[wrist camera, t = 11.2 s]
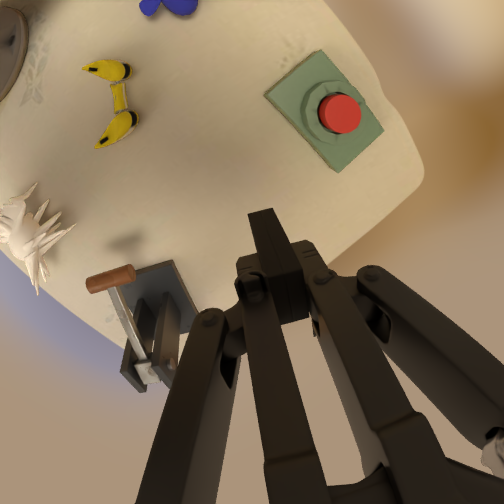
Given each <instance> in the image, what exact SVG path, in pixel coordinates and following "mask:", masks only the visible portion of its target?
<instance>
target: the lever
mask: <svg viewBox="0 0 504 504" xmlns="http://www.w3.org/2000/svg"><path fill="white" fill-rule="evenodd" d="M135 280H136V272H135V269H134V267H133V266H132V265H131V264H128V265H125V266H122V267H119V268H116V269H112V270H109V271H106V272H103V273H100V274H97V275H94V276H91V277H88V278H87V279H86V287H87V290H88V291H89V292H90V293H91V294H93V293H97V292H100V291H104V290H108V292H109V295H110V297H111V300H112V302H113V305H114V307H115V309H116V312H117V314H118V316H119V319H120V321H121V323H122V325H123V328H124V330H125V332H126V334H127V336H128V338H129V340H130V343H131V345H132V347H133V349H134V351H135V353H136V355H137V357H138V359H137V360H136V362H135V364H134V367H135V369H136V370H137V372H138V374H139V376H140V378H141V380H142V381H143V383H144V385H145V384H152V383H159V382H161V379H160V378H159V377H158V375H157V374H156V373H155V372H154V371H153V369H152V368H151V362H152V354H153V352H151V353H148V350H147V348H146V346H145V344H144V342H143V340H142V338H141V336H140V333H139V331H138V329H137V327H136V325H135V322H134V320H133V318H132V315H131V313H130V311H129V308H128V306H127V304H126V301H125V299H124V296H123V294H122V291H121V289H120V285H124V284H127V283H131V282H134V281H135Z"/></svg>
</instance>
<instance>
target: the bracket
mask: <svg viewBox="0 0 504 504" xmlns="http://www.w3.org/2000/svg"><path fill="white" fill-rule="evenodd" d="M135 272H136V280H135V281H134V282H131V283H127V284H124V285H120V289H121V291H122V294H123V296H124V299H125V301H126V304H127V306H128V308H129V309H130V311H131V312H132V314H133V320H134V322H135V325H136V327H137V329H138V331H139V333H140V336H141V338H142V340H143V342H144V344H145V346H146V348H147V350H148V353H151V352H152V346H153V340H155V341H154V348H153V354H152V362H151V368H152V369H153V371H154V372H155V373H156V374H157V375H158V377H159V378H160V379H161V380H162V381H163V382H164V384H165V385H166V386H167V387H168V388H169V389H170V388H171V385H172V382H173V379H174V376H175V373H176V370H177V367H178V352H179V337H180V334H184V333H188V332H190V329H191V326H192V323H193V321H194V319H195V317H196V315H198V314H199V313H198V311H197V309H196V307H195V305H194V304H193V302H192V300H191V298H190V296H189V293H188V291H187V289H186V287H185V285H184V283H183V281H182V279H181V277H180V275H179V273H178V271H177V269H176V267H175V264H174V262H173V260H170V261H166V262H163V263H160V264H157V265H153V266H150V267H147V268H143V269H140V270H137V271H135ZM137 359H138V357H137V355H136V353H135V351H134V349H133V347H132V345H131V343H130V340H129V338H127V342H126V346H125V351H124V355H123V360H122V364H121V369H120V373H121V374H122V375H123V376H124V377H125V378H126V379H127V380H128V381H129V383H130V384H131V385H132V386H133V387H134V388H135V389H136V390H137V391H138V392H139V393H143V392H146V390H147V384H145V385H144V383H143V381H142V380H141V378H140V376H139V374H138V372H137V370H136V369H135V367H134V364H135V362H136V360H137Z"/></svg>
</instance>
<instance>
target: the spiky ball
mask: <svg viewBox="0 0 504 504" xmlns="http://www.w3.org/2000/svg"><path fill="white" fill-rule="evenodd" d="M37 183H38V182H36V183H35V184H34V185H33V186H32V187H31V188H30V189H29V190H28V191H27V192H26V193H25V194H23V195H21V196H17V197H12V198H10V199H9V201H10V202H11V203H12V204H3V206H4V208H0V213H1V214H3V216H0V236H3V237H0V243H9V247H10V250H11V252H12V253H13V255H14V256H15V257H16V258H18V259H20V260H22V261H25V263H26V266H27V269H28V272H29V275H30V278H31V282H32V284H33V286H34V285H35V286H36V292H37V296H38V295H39V280H38V272H39V265H40V269H41V272H42V275H43V278H44V281H45V283H46V275H45V272H46V273H47V275H48V276H49V277H50V273H49V271H48V268H47V266H46V263H45V261H44V258H43V255H44V253H45V252H46V251H47V250H48V249H49V248H50V247H51V246H52V245H54V244H55V243H56V242H57V241H58V240H59V239H60V238H61V237H63V236H64V235H65V234H66V233H67V232H68V231H70V230H71V229H72V228H73V227H74V226H75V225H76V224H77V223H76V224H74V225H72V226H71V227H69V228H68V229H66V230H65V231H64V229H63V230H60V231H57V232H55V233H53V232H54V231H55V230H56V229H57V228H58V227H59V225H60V224H61V223H58V224H56V225H55V226H53V227H52V228H50V227H51V226H52V225H53V223H54V222H55V221H56V220H57V218H58V217H59V216H60V215H61V213H62V212H59V213H57V214H56V215H55V216H53V217H52V218H50V219H49V220H48V221H47V222H45V223H44V224H43V225H41V226H40V225H39V224H38V223H39V221H40V218H41V216H42V214H43V212H44V210H45V208H46V207H47V204H48V202H49V199H48V200H47V201H46V202H45V203H44V204H43V206H41V207H39V210H38V212H37V214H36V215H35V217H34V218H33V213H30V212H29V213H28V214H26V215H25V216H24V214H25V210H26V204H25V202H24V200H25V199H26V198H28V197H29V196H30V194H31V193H32V191H33V190H34V188H35V187H36V185H37ZM49 228H50V229H49ZM48 229H49V230H48ZM47 230H48V231H47ZM63 231H64V232H63ZM56 236H57V237H56ZM53 238H54V239H53ZM52 239H53V240H52ZM50 240H51V241H50Z"/></svg>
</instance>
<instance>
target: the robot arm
mask: <svg viewBox="0 0 504 504" xmlns="http://www.w3.org/2000/svg"><path fill="white" fill-rule="evenodd" d="M27 44H28V25H27V21H26V19H25V17H24V15H23V14H22V13H21V12H20V11H18V10H17V9H13V8H10V7H0V101H1V100H2V99H3V98H4V97H5V96H6V94H7V93H8V92H9V90H10V89H11V87H12V85H13V84H14V82H15V80H16V78H17V76H18V74H19V72H20V69H21V67H22V64H23V61H24V58H25V54H26V50H27ZM248 218H249V222H250V226H251V230H252V234H253V238H254V242H255V246H256V250H257V253H255V254H251V255H247V256H243V257H239V259H238V261H237V263H236V268H237V275H238V277H237V278H236V280H235V283H234V285H235V288H236V291H237V294H238V298H239V301H238V302H237V304H235V305H234V306H233V307H232V308H230V309H228V310H226V311H224V312H223V311H222V310H220V309H218V308H209V309H205V310H203V311H201V312H200V313H199V314H198V315H196V317H195V319H194V321H193V323H192V326H191V329H190V332H189V335H188V338H187V341H186V343H185V346H184V349H183V352H182V355H181V358H180V361H179V364H178V367H177V370H176V373H175V376H174V379H173V382H172V385H171V388H170V391H169V394H168V397H167V400H166V403H165V406H164V410H163V413H162V416H161V419H160V422H159V425H158V428H157V432H156V435H155V438H154V441H153V445H152V448H151V451H150V455H149V458H148V462H147V465H146V468H145V471H144V475H143V478H142V482H141V485H140V489H139V492H138V496H137V499H136V503H135V504H215V503H216V498H217V492H218V487H219V481H220V476H221V470H222V465H223V459H224V454H225V448H226V442H227V437H228V431H229V425H230V420H231V414H232V408H233V403H234V397H235V391H236V385H237V380H238V374H239V368H240V362H241V355H243V354H245V353H247V355H248V361H249V368H250V373H251V380H252V386H253V393H254V399H255V405H256V411H257V416H258V423H259V429H260V434H261V440H262V446H263V451H264V460H265V461H264V476H265V482H266V487H267V493H268V499H269V504H504V365H503V364H502V363H501V362H500V361H499V360H497V358H495V357H494V356H493V355H492V354H491V353H489V351H487V350H486V349H485V348H484V347H483V346H482V345H480V344H479V343H478V342H477V341H476V340H474V339H473V338H472V337H471V336H470V335H469V334H467V333H466V332H465V331H464V330H463V329H461V328H460V327H459V326H458V325H457V324H455V323H454V322H453V321H452V320H450V319H449V318H448V317H447V316H445V315H444V314H443V313H442V312H440V311H439V310H438V309H436V308H435V307H434V306H433V305H432V304H430V303H429V302H428V301H426V300H425V299H424V298H422V297H421V296H420V295H419V294H417V293H416V292H414V291H413V290H412V289H411V288H409V287H408V286H407V285H405V284H404V283H403V282H401V281H400V280H398V279H397V278H396V277H395V276H393V275H392V274H390V273H389V272H388V271H386V270H385V269H383V268H382V267H380V266H375V265H367V266H365V267H362V268H361V269H359V270H358V272H357V276H352V277H342V276H338V275H337V273H336V272H335V271H333V270H330V269H328V267H327V266H326V264H325V262H324V261H323V259H322V257H321V256H320V254H319V253H318V251H317V250H316V248H315V246H314V245H313V243H311V242H309V241H308V240H303V241H299V242H295V243H291V244H290V242H289V240H288V238H287V236H286V234H285V232H284V230H283V228H282V226H281V224H280V222H279V220H278V218H277V216H276V214H275V212H274V210H273V208H269V209H265V210H261V211H257V212H253V213H249V214H248ZM309 312H310V315H311V318H312V326H313V335H314V337H315V336H317V338H318V341H319V344H320V346H321V349H322V351H323V354H324V357H325V359H326V362H327V364H328V367H329V370H330V372H331V375H332V377H333V380H334V383H335V385H336V388H337V391H338V393H339V396H340V399H341V401H342V404H343V407H344V410H345V412H346V415H347V418H348V421H349V423H350V426H351V429H352V431H353V434H354V437H355V440H356V443H357V446H358V449H359V452H360V455H361V461H362V468H363V471H364V475H365V479H363V480H361V481H360V482H358V483H355V484H347V485H335V486H327V485H326V481H325V477H324V473H323V470H322V466H321V463H320V459H319V456H318V453H317V450H316V448H315V445H314V441H313V438H312V434H311V431H310V427H309V423H308V420H307V416H306V413H305V409H304V406H303V402H302V399H301V395H300V392H299V388H298V385H297V381H296V378H295V374H294V371H293V367H292V364H291V360H290V357H289V353H288V350H287V346H286V343H285V340H284V336H283V333H282V329H281V325H283V324H287V323H291V322H294V321H298V320H302V319H305V318H309ZM382 350H383V351H384V352H385V353H386V354H387V355H388V356H389V358H390V359H391V360H392V361H393V362H394V363H395V364H396V365H397V366H398V367H399V368H400V369H401V370H402V371H403V372H404V373H405V374H406V375H407V376H408V377H409V378H410V379H411V381H412V382H413V383H414V384H415V385H416V386H417V387H418V388H419V389H420V390H421V391H422V392H423V393H424V394H425V395H426V396H427V398H428V399H429V400H430V401H431V402H432V403H433V404H434V405H435V406H436V407H437V408H438V409H439V410H440V411H441V413H442V414H443V415H444V416H445V417H446V418H447V419H448V420H449V421H450V422H451V423H452V425H453V426H454V427H455V428H456V429H457V430H458V431H459V432H460V433H461V434H462V435H463V436H464V437H465V438H466V439H467V440H468V441H469V442H471V443H472V444H473V445H475V446H476V447H478V448H480V449H481V450H483V453H482V457H481V463H482V465H483V466H488V467H489V468H490V469H491V470H492V472H493V474H494V475H491V474H488V473H485V472H483V471H480V470H477V469H475V468H472V467H470V466H467V465H465V464H462V463H460V462H457V461H455V460H452V459H450V458H447V457H445V455H444V453H443V451H442V448H441V446H440V444H439V442H438V440H437V438H436V436H435V434H434V432H433V429H432V428H431V426H430V424H429V422H428V420H427V418H426V417H425V416H424V415H423V414H422V413H420V412H416V411H415V410H414V409H413V408H412V406H411V404H410V402H409V400H408V398H407V396H406V394H405V392H404V390H403V388H402V387H401V385H400V383H399V381H398V379H397V377H396V375H395V373H394V371H393V370H392V368H391V366H390V364H389V362H388V361H387V358H386V357H385V355H384V353H383V351H382Z"/></svg>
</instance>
